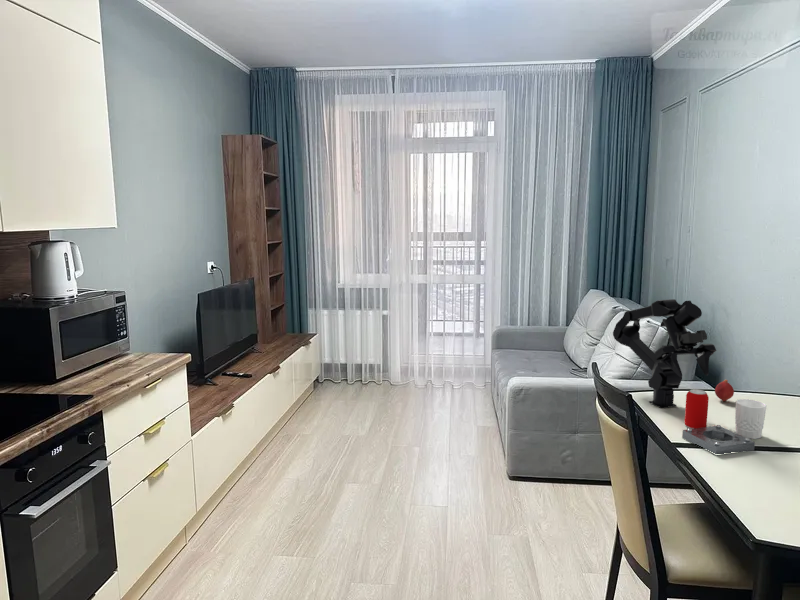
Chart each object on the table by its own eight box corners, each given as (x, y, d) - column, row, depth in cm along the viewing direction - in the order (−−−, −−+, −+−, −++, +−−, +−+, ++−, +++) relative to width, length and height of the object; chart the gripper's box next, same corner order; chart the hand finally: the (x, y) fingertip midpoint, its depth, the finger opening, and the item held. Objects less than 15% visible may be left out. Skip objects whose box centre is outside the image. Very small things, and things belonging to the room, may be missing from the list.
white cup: (761, 432, 173) (764, 400, 171) (765, 441, 166) (768, 409, 164) (731, 428, 176) (734, 397, 175) (734, 437, 169) (737, 405, 168)
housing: (682, 437, 169) (682, 428, 169) (718, 433, 172) (718, 423, 172) (716, 455, 157) (716, 445, 156) (754, 450, 160) (755, 439, 159)
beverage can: (694, 423, 181) (697, 387, 179) (710, 430, 175) (713, 393, 173) (679, 425, 179) (682, 389, 177) (695, 432, 173) (698, 395, 171)
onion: (717, 403, 198) (719, 381, 197) (711, 398, 204) (713, 376, 203) (735, 404, 198) (737, 382, 196) (729, 398, 203) (730, 377, 202)
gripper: (664, 322, 181) (681, 366, 173) (717, 320, 183) (735, 364, 176) (647, 337, 190) (662, 380, 182) (697, 335, 193) (714, 378, 185)
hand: (694, 375), depth 181 cm, fingers open, 9 cm apart
